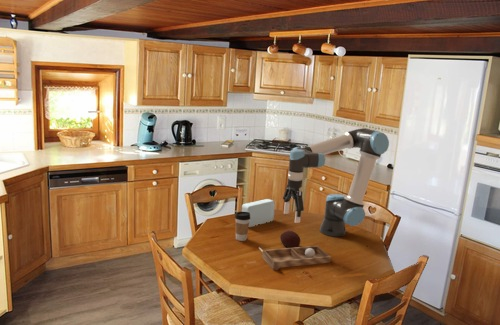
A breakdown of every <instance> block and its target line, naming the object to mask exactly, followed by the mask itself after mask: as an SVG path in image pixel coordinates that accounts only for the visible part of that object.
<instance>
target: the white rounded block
mask: <svg viewBox="0 0 500 325" xmlns="http://www.w3.org/2000/svg"><path fill="white" fill-rule="evenodd" d="M275 206H276V201H274V200H273V199H270V198H265V199H261V200H256V201H251V202H246V203H243V204H242V205H241V212H249V213H250V219H249V228H252V227H256V226H259V225H258V224H260V225H262V224H266V222H267V223H270V221H271V222H273V221H274V217H275ZM255 225H256V226H255Z"/></svg>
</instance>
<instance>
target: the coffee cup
mask: <svg viewBox="0 0 500 325" xmlns="http://www.w3.org/2000/svg"><path fill="white" fill-rule="evenodd" d="M234 216H235V217H234V218H235V221H234V222H235V224H234V225H235V240H237V241H239V242H245V241H246V240H247V238H248V231H249V228H250V227H249V219H250V213H249V212H242V211H237V212H235V214H234ZM248 227H249V228H248Z"/></svg>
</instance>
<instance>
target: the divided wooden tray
mask: <svg viewBox="0 0 500 325" xmlns="http://www.w3.org/2000/svg"><path fill="white" fill-rule="evenodd" d="M308 248H312V249H313V250H314V251H315V255H314V257H313V258H308V257H306V255H305V251H306V249H308ZM262 250H263V253H262V252H261V253H262V254H261V259H263V261H264V262H265V263H266V264H267V265H268V266H269V267H270V268H271V270H272V271H276V270H281V268H288V267H289V268H290V267H297V266H298V267H299V266H309V265H317V264H327V263H328V264H329V263H331V260H332V257H331V255H330V254H328V253H327V252H326V251H325V250H324V249H322V248H321V247H320V246H319V245H308V246H298V247H294V248H288V247H284V248H282V247H281V248H273V249H262Z"/></svg>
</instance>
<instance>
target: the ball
mask: <svg viewBox="0 0 500 325" xmlns="http://www.w3.org/2000/svg"><path fill="white" fill-rule="evenodd" d="M305 255H306V257H308V258H313V257H314V255H315V251H314V250H313V249H312V248H308V249H306V251H305Z"/></svg>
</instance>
